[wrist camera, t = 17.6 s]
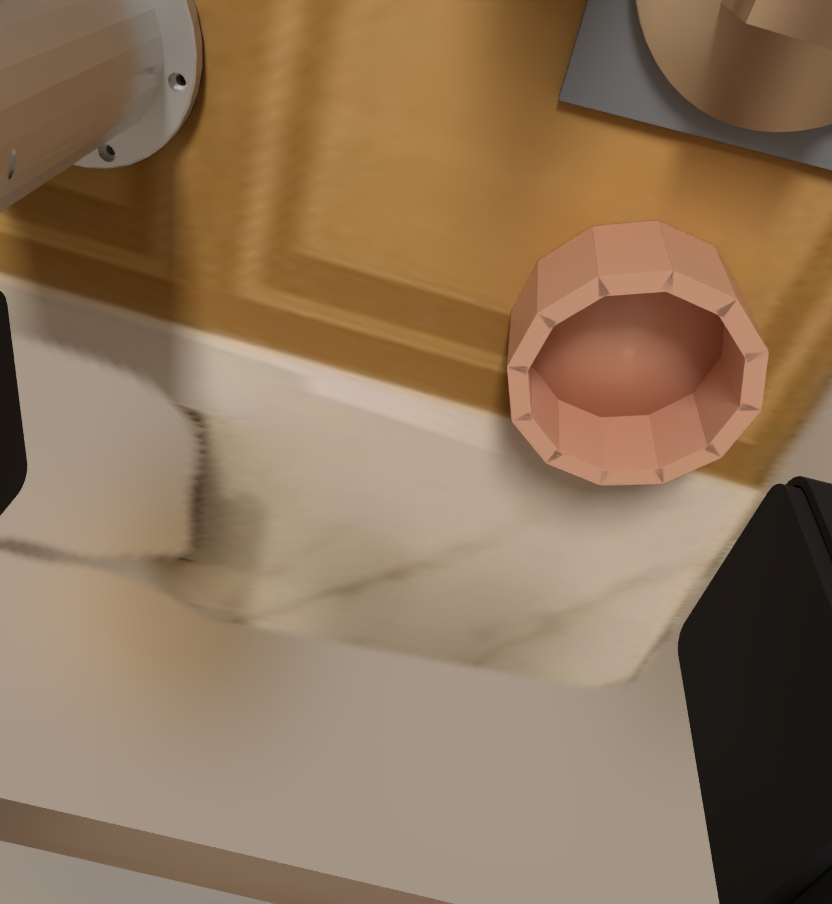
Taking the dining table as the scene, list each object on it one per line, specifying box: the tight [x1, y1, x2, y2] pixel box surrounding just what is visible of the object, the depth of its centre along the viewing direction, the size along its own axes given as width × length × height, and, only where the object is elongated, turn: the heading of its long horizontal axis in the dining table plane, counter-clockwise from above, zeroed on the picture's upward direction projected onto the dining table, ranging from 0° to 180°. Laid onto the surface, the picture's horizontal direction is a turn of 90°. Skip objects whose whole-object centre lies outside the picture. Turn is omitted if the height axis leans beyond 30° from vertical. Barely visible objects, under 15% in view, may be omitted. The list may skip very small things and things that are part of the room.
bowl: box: [507, 220, 769, 486], centre depth 41 cm, size 12×12×6 cm
